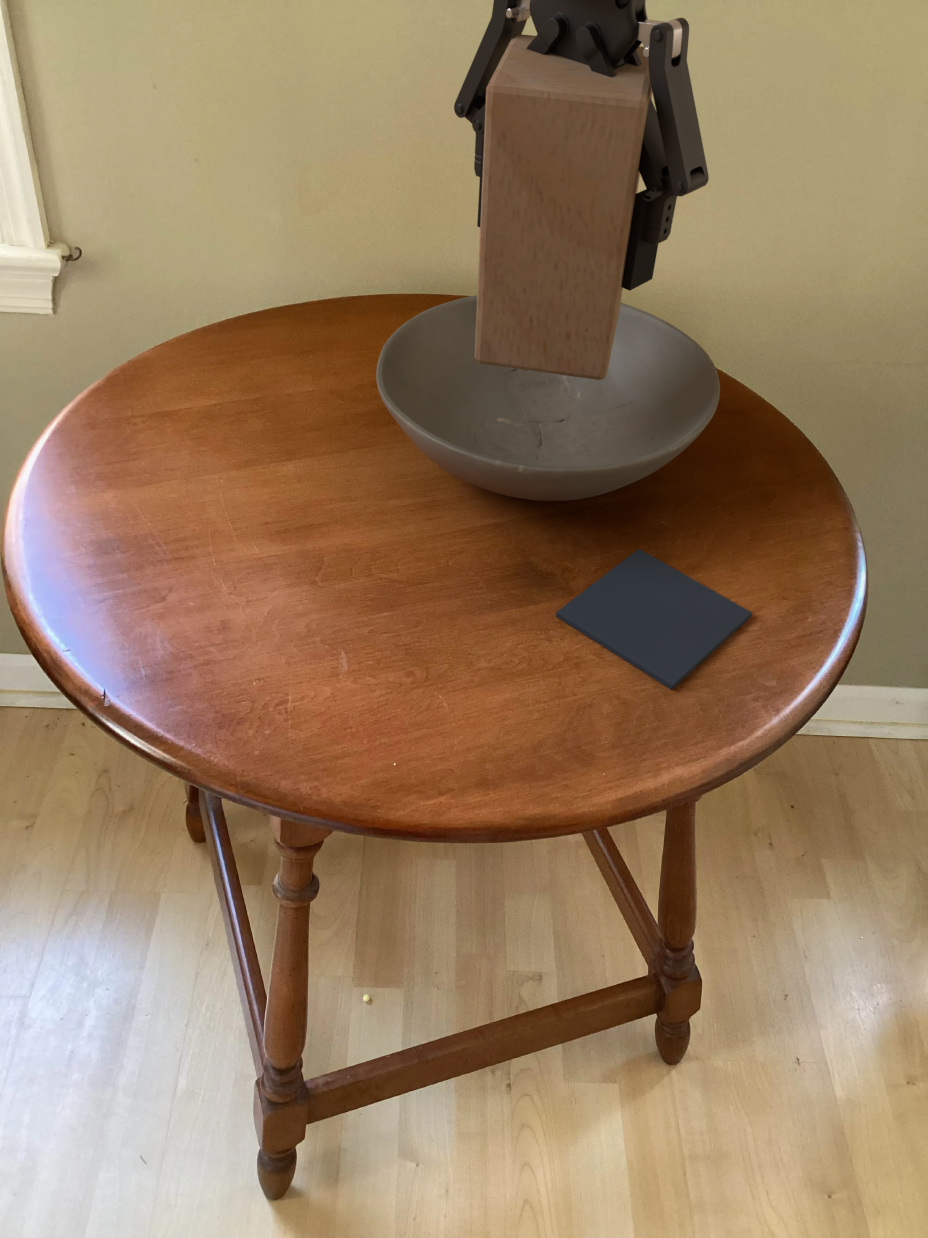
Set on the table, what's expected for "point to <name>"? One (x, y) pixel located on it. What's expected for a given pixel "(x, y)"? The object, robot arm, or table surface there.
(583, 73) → the wooden block
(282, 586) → the table surface
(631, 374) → the bowl
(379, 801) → the table surface
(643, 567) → the mat
